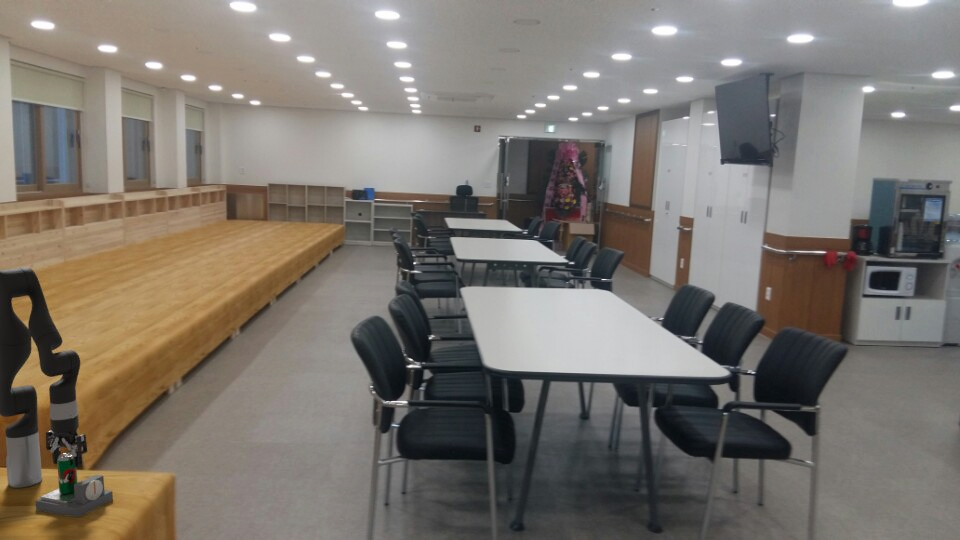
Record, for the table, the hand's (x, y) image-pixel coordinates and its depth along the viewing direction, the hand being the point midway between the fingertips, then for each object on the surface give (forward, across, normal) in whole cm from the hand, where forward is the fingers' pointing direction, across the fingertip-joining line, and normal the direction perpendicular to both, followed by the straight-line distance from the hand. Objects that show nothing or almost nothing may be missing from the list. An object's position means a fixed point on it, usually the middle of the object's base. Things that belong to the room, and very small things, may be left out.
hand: (67, 464), depth 218 cm
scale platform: (+10, 0, 0) cm, 10 cm away
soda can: (+9, 0, 0) cm, 9 cm away
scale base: (+13, +2, 0) cm, 13 cm away
